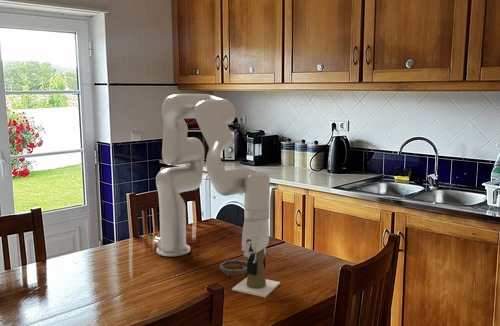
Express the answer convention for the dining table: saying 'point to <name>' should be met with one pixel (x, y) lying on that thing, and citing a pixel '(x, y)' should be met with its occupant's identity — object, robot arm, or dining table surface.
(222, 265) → the ring stand
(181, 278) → the dining table surface
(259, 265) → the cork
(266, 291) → the plate
